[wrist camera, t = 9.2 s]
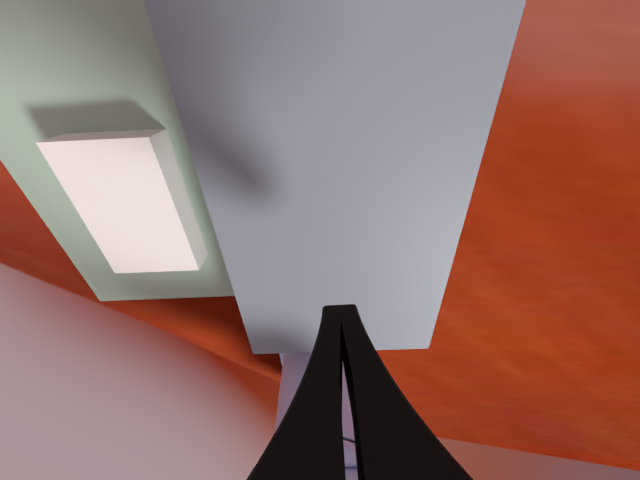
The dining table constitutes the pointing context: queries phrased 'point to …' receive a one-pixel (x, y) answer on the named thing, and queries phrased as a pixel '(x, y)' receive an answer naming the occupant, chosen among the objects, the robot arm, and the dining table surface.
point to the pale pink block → (130, 198)
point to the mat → (92, 124)
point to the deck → (336, 149)
